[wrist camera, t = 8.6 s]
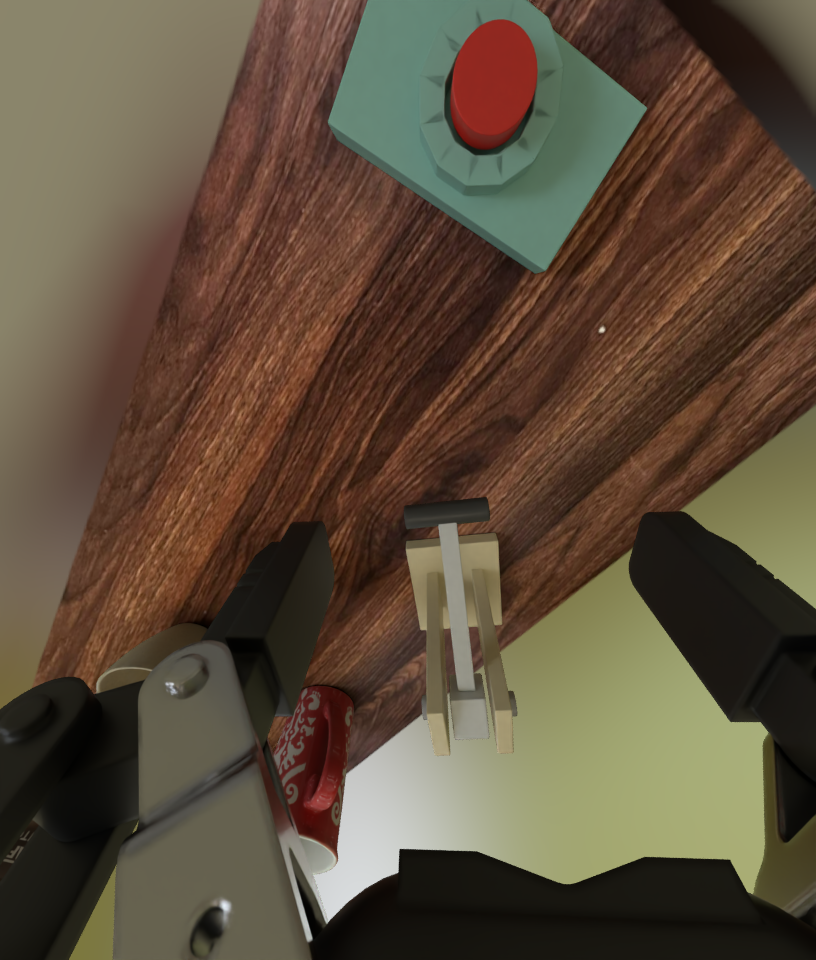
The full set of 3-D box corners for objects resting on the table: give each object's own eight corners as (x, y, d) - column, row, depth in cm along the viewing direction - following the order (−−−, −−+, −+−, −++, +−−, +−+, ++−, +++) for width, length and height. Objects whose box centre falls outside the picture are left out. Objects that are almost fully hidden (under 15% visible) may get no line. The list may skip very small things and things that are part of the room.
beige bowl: (135, 639, 40) (80, 703, 34) (173, 590, 37) (119, 650, 30) (214, 680, 43) (177, 747, 36) (257, 638, 39) (224, 704, 33)
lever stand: (406, 540, 33) (393, 685, 20) (495, 532, 32) (539, 677, 19) (420, 620, 37) (417, 779, 24) (499, 614, 36) (538, 777, 24)
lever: (406, 501, 23) (402, 510, 21) (484, 493, 23) (489, 501, 20) (433, 711, 25) (432, 741, 23) (505, 708, 25) (512, 738, 22)
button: (435, 122, 17) (436, 103, 16) (477, 25, 16) (483, -6, 14) (498, 166, 18) (504, 153, 16) (543, 78, 16) (555, 54, 15)
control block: (336, 140, 21) (317, 105, 17) (402, -53, 17) (396, -146, 14) (535, 274, 23) (555, 268, 19) (626, 127, 20) (670, 87, 16)
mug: (339, 734, 47) (309, 886, 34) (276, 708, 45) (220, 858, 33) (391, 684, 42) (377, 840, 29) (322, 652, 40) (277, 804, 28)
